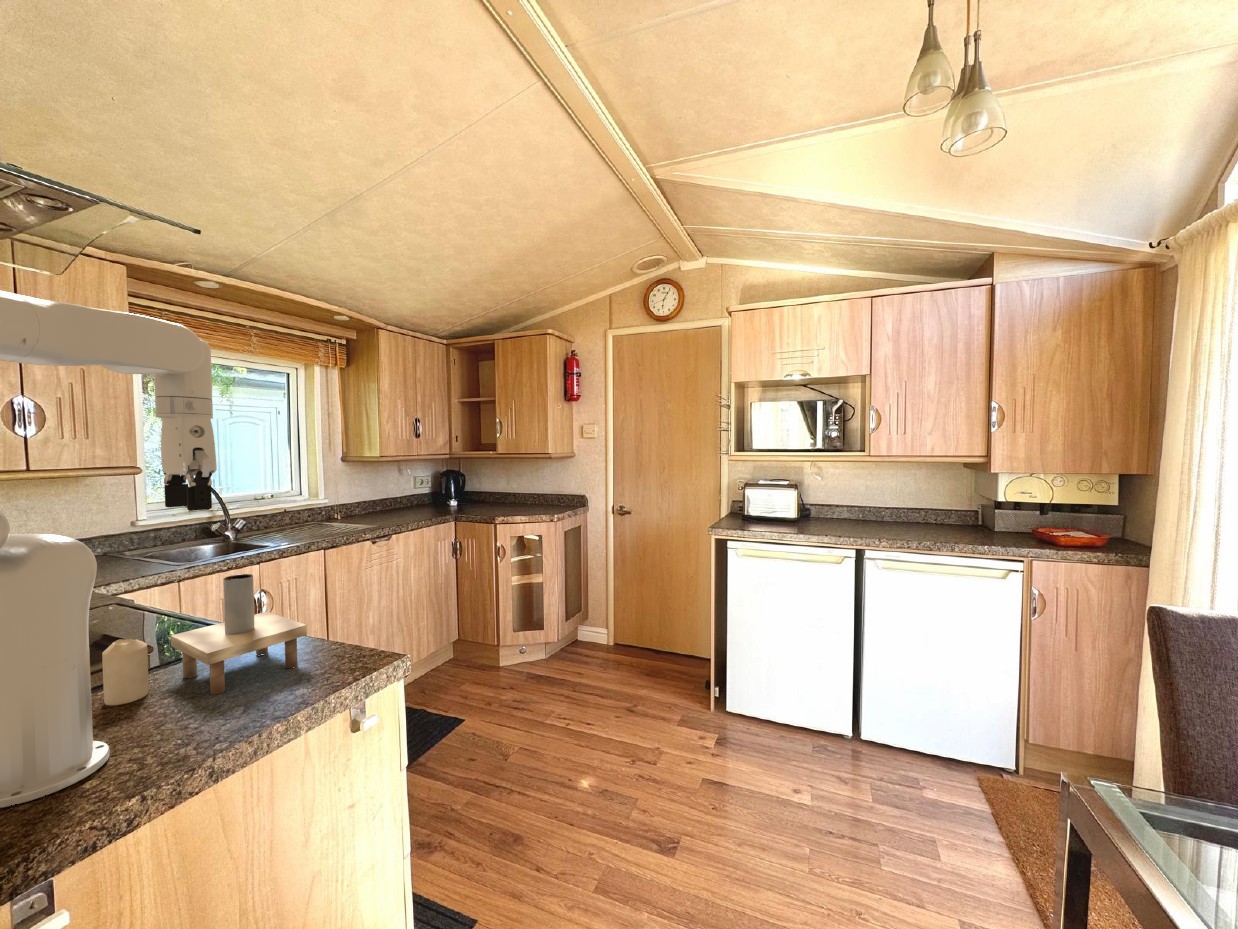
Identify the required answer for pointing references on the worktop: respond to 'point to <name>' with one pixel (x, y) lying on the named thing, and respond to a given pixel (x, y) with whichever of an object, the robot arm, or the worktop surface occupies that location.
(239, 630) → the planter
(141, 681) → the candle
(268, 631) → the stool
